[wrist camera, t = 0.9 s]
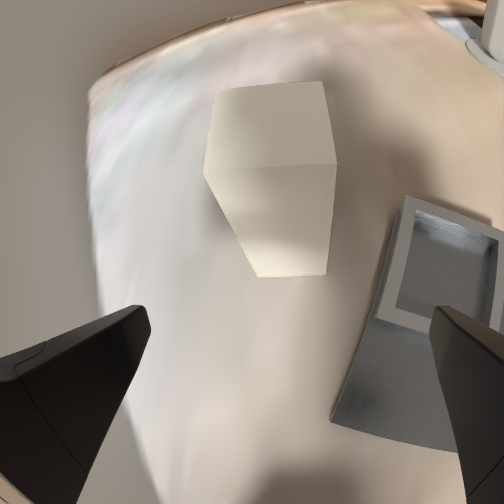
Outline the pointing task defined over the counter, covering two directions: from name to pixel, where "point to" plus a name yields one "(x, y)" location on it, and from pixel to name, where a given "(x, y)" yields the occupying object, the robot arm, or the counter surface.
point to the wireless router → (490, 38)
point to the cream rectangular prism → (275, 174)
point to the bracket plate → (420, 322)
